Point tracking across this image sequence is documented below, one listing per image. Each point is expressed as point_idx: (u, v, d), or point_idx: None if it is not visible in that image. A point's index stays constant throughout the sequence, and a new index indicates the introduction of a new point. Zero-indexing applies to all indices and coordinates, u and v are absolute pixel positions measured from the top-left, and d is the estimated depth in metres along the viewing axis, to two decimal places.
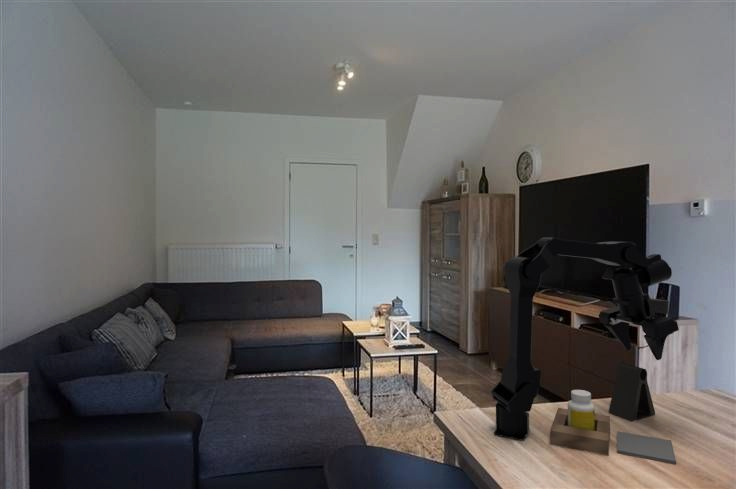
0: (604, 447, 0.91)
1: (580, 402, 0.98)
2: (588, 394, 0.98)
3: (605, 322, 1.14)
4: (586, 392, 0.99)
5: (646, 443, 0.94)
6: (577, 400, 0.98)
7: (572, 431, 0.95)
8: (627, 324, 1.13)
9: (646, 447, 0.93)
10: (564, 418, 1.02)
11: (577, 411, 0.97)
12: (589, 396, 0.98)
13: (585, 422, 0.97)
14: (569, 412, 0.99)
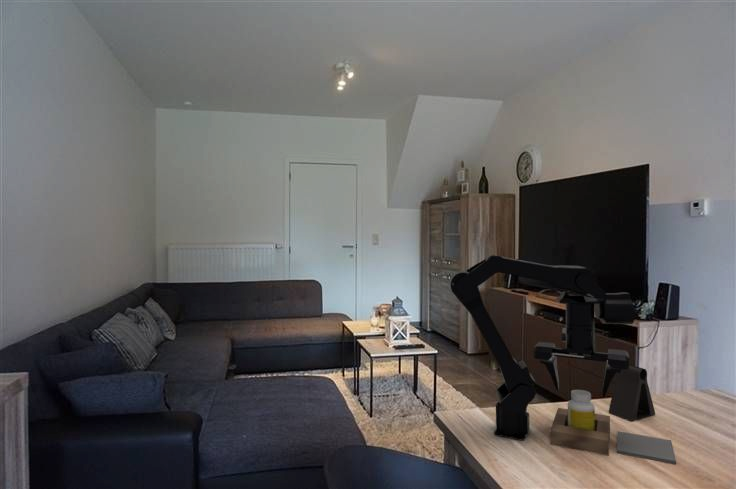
0: (604, 447, 0.91)
1: (580, 402, 0.98)
2: (588, 394, 0.98)
3: (545, 358, 1.00)
4: (586, 392, 0.99)
5: (646, 443, 0.94)
6: (577, 400, 0.98)
7: (572, 431, 0.95)
8: (556, 361, 1.03)
9: (646, 447, 0.93)
10: (564, 418, 1.02)
11: (577, 411, 0.97)
12: (589, 396, 0.98)
13: (585, 422, 0.97)
14: (569, 412, 0.99)
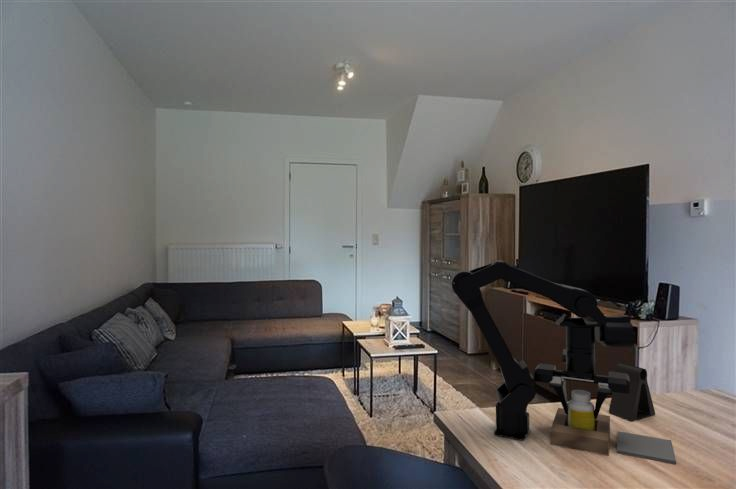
0: (604, 447, 0.91)
1: (580, 401, 0.98)
2: (588, 394, 0.98)
3: (546, 380, 1.00)
4: (586, 392, 0.99)
5: (646, 443, 0.94)
6: (577, 400, 0.98)
7: (572, 431, 0.95)
8: (565, 384, 1.02)
9: (646, 447, 0.93)
10: (564, 418, 1.02)
11: (577, 411, 0.97)
12: (589, 396, 0.98)
13: (585, 422, 0.97)
14: (569, 412, 0.99)
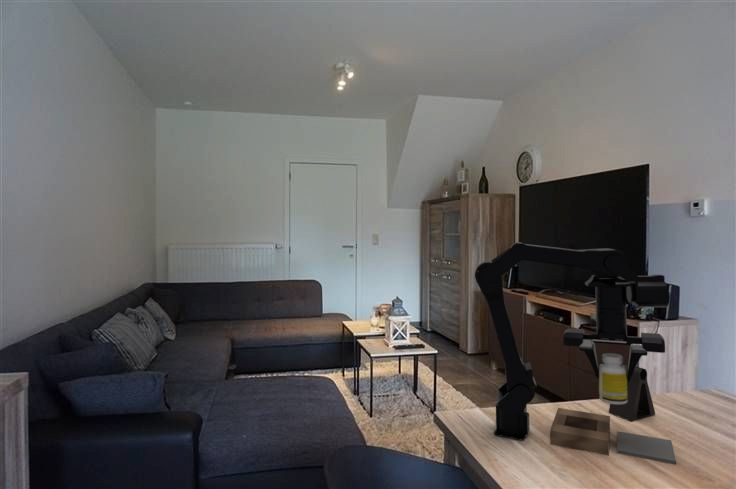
0: (604, 447, 0.91)
1: (612, 364, 0.95)
2: (620, 356, 0.95)
3: (576, 344, 0.97)
4: (617, 355, 0.96)
5: (646, 443, 0.94)
6: (608, 363, 0.95)
7: (572, 431, 0.95)
8: None
9: (646, 447, 0.93)
10: (564, 418, 1.02)
11: (609, 373, 0.94)
12: (621, 358, 0.95)
13: (618, 385, 0.94)
14: (600, 376, 0.96)
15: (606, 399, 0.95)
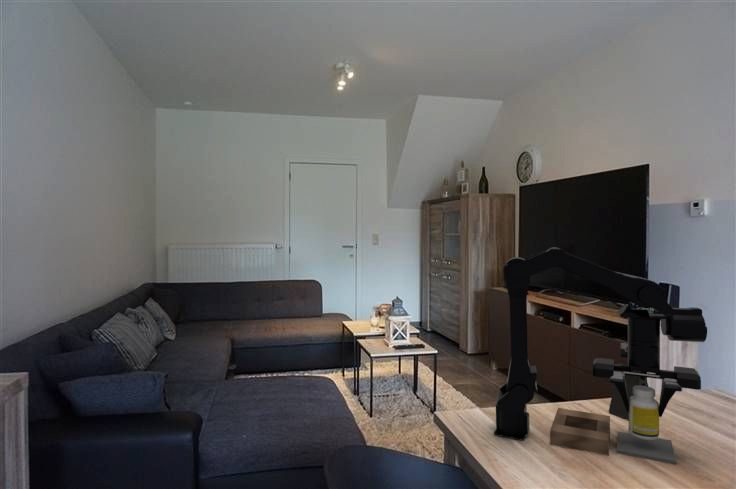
0: (604, 447, 0.91)
1: (643, 398, 0.92)
2: (652, 390, 0.92)
3: (607, 376, 0.94)
4: (649, 388, 0.94)
5: (646, 443, 0.94)
6: (640, 397, 0.92)
7: (572, 431, 0.95)
8: None
9: (646, 447, 0.93)
10: (564, 418, 1.02)
11: (640, 408, 0.92)
12: (653, 392, 0.92)
13: (650, 420, 0.91)
14: (631, 409, 0.93)
15: (636, 433, 0.92)
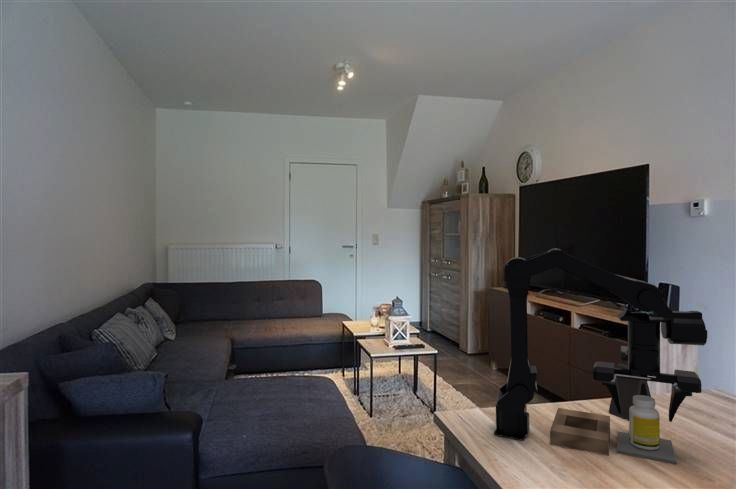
0: (604, 447, 0.91)
1: (643, 408, 0.92)
2: (652, 400, 0.92)
3: (607, 379, 0.94)
4: (649, 398, 0.94)
5: None
6: (640, 407, 0.93)
7: (572, 431, 0.95)
8: None
9: None
10: (564, 418, 1.02)
11: (641, 418, 0.92)
12: (654, 402, 0.92)
13: (651, 430, 0.91)
14: (631, 419, 0.93)
15: (637, 443, 0.92)
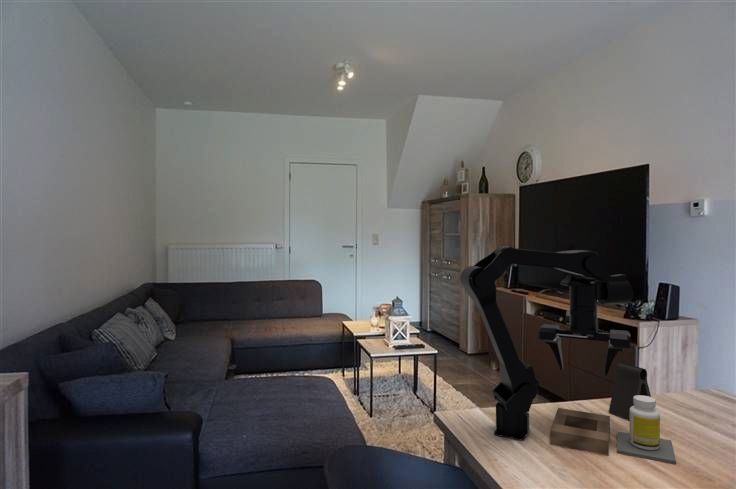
0: (604, 447, 0.91)
1: (644, 408, 0.92)
2: (653, 400, 0.92)
3: (550, 338, 1.04)
4: (650, 398, 0.94)
5: None
6: (640, 407, 0.92)
7: (572, 431, 0.95)
8: (560, 342, 1.07)
9: None
10: (564, 418, 1.02)
11: (641, 418, 0.92)
12: (654, 402, 0.92)
13: (651, 430, 0.91)
14: (632, 419, 0.93)
15: (637, 443, 0.92)
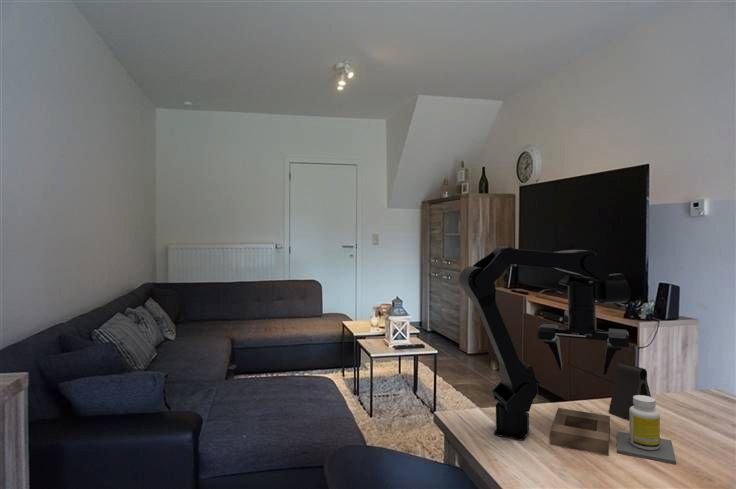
0: (604, 447, 0.91)
1: (644, 408, 0.92)
2: (653, 400, 0.92)
3: (549, 338, 1.04)
4: (650, 398, 0.94)
5: None
6: (640, 407, 0.93)
7: (572, 431, 0.95)
8: (559, 341, 1.07)
9: None
10: (564, 418, 1.02)
11: (641, 418, 0.92)
12: (654, 402, 0.92)
13: (651, 430, 0.91)
14: (632, 419, 0.93)
15: (637, 443, 0.92)
